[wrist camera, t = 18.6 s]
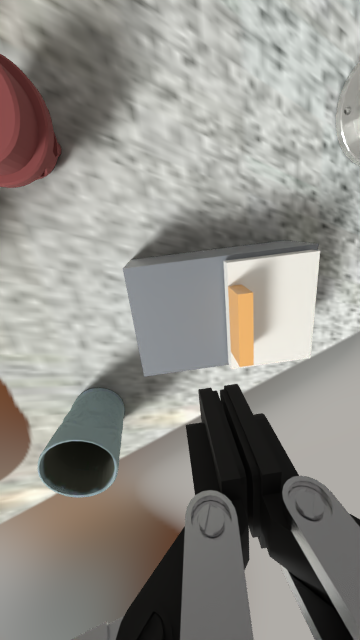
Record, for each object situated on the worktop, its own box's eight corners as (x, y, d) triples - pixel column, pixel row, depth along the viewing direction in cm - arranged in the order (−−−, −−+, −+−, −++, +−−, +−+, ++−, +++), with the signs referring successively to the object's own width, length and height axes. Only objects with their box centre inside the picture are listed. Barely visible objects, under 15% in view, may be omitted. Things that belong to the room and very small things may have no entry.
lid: (311, 249, 27) (343, 254, 22) (303, 352, 32) (328, 373, 27) (223, 261, 27) (236, 268, 22) (228, 363, 31) (240, 386, 27)
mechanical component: (-25, 92, 27) (70, 97, 27) (-2, 194, 30) (81, 196, 31) (-165, -11, 15) (5, 3, 16) (-101, 175, 19) (35, 178, 19)
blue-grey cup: (94, 437, 45) (72, 507, 34) (56, 401, 41) (17, 465, 30) (140, 412, 44) (133, 476, 32) (104, 371, 40) (83, 427, 29)
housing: (284, 240, 35) (318, 243, 27) (280, 329, 40) (308, 353, 32) (130, 259, 34) (122, 268, 27) (147, 348, 39) (144, 376, 32)
